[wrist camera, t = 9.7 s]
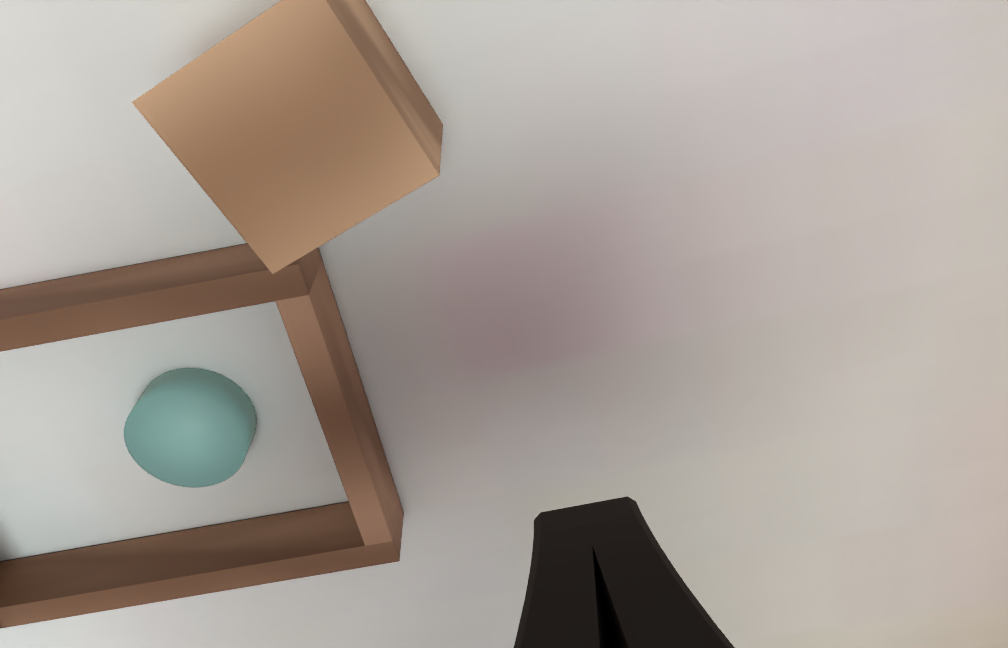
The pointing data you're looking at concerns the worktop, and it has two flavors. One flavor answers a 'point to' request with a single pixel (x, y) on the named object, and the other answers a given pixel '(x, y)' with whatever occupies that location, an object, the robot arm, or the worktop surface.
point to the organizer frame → (230, 546)
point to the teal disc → (191, 428)
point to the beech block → (299, 125)
